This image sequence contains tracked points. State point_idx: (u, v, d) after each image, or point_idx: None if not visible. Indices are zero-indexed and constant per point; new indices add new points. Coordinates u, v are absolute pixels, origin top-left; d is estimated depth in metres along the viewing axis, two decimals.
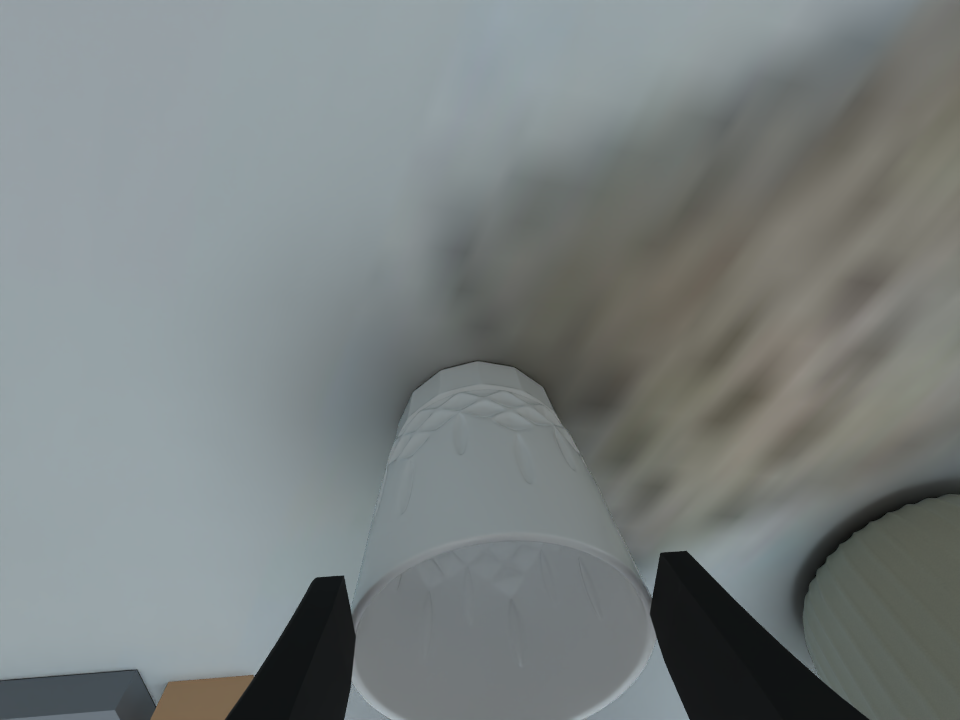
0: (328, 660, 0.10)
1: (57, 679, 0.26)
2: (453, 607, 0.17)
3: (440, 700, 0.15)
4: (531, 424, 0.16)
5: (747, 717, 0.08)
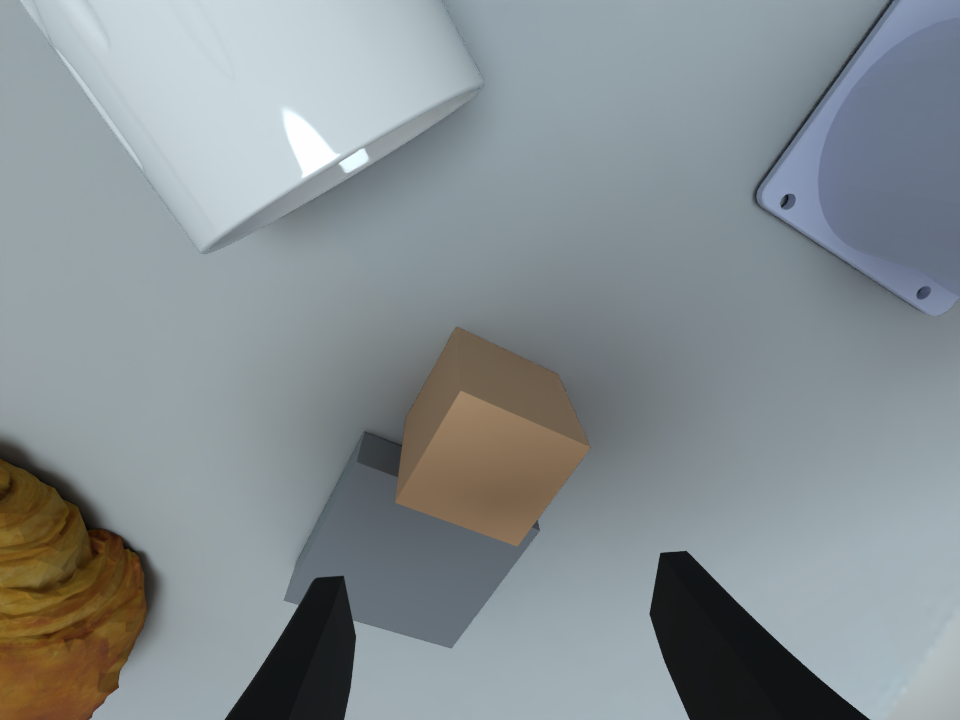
0: (328, 660, 0.10)
1: (327, 502, 0.22)
2: None
3: None
4: None
5: (747, 717, 0.08)
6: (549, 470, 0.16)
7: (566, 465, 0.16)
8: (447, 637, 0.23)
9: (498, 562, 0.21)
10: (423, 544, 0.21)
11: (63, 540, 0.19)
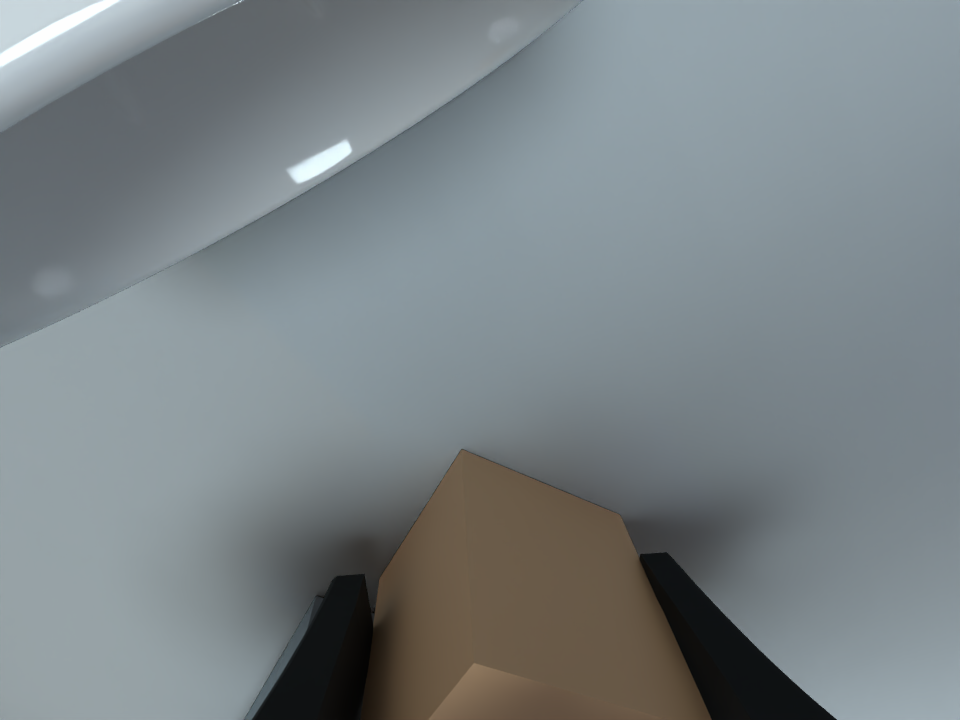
0: (351, 658, 0.10)
1: (262, 689, 0.14)
2: None
3: (395, 62, 0.08)
4: None
5: None
6: None
7: None
8: None
9: None
10: None
11: None
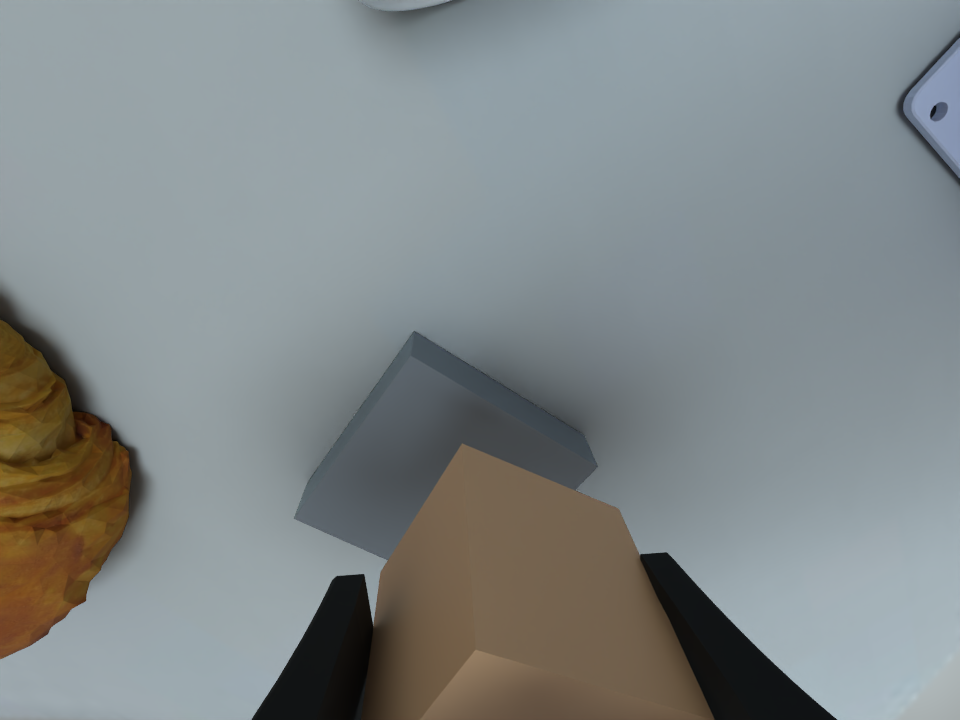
0: (351, 658, 0.10)
1: None
2: None
3: None
4: None
5: None
6: None
7: None
8: None
9: None
10: None
11: (45, 410, 0.16)
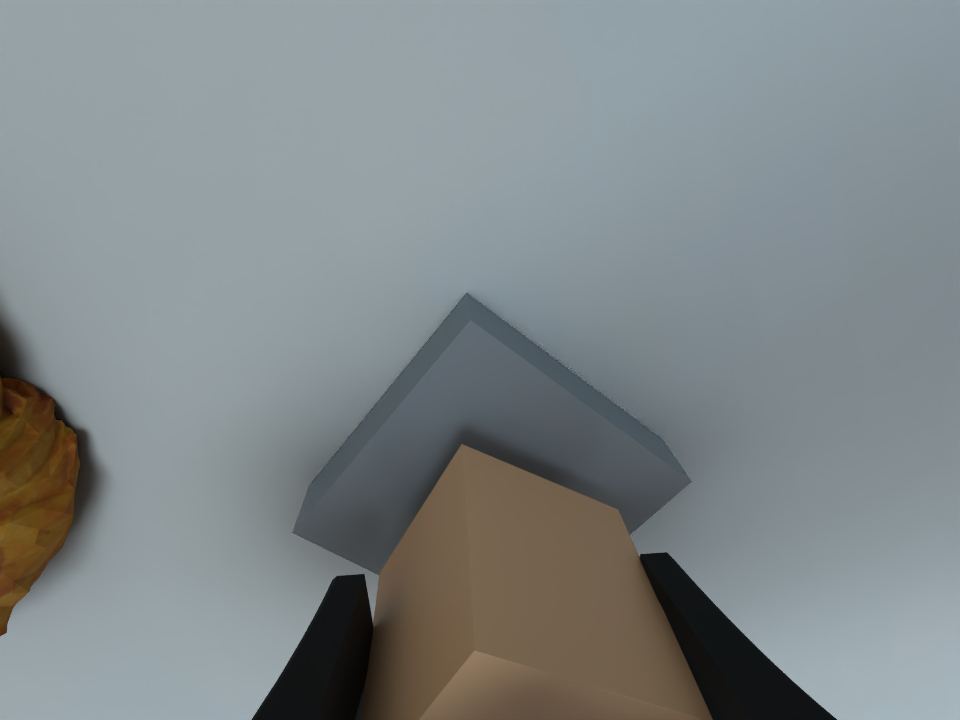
0: (351, 658, 0.10)
1: (382, 397, 0.14)
2: None
3: None
4: None
5: (720, 719, 0.08)
6: None
7: None
8: None
9: None
10: None
11: None
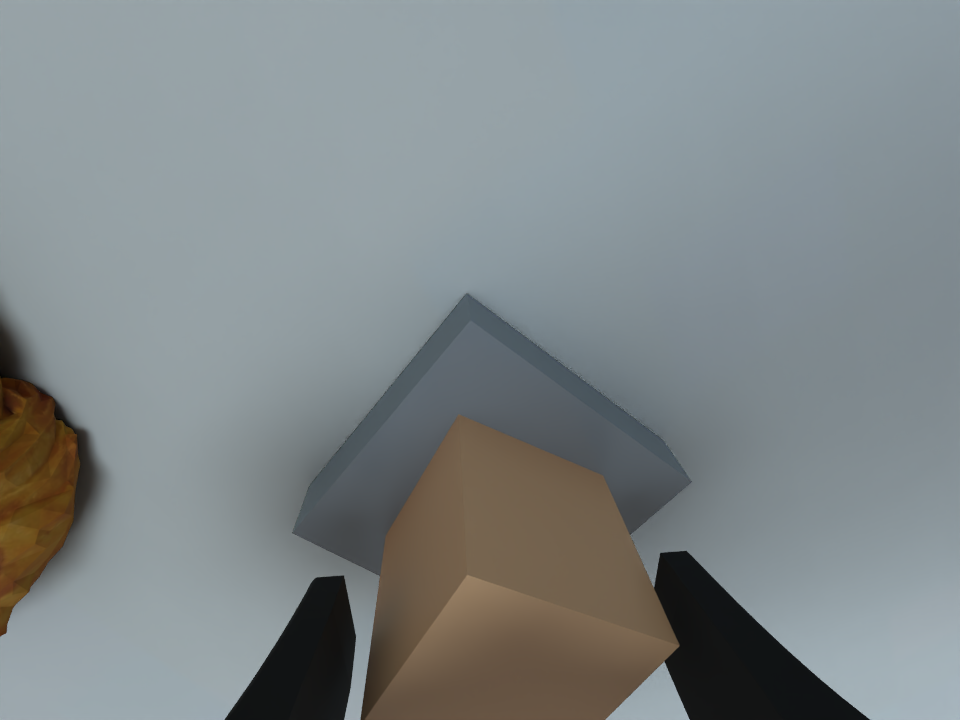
0: (328, 660, 0.10)
1: (382, 397, 0.14)
2: None
3: None
4: None
5: (747, 717, 0.08)
6: (610, 677, 0.10)
7: (638, 670, 0.10)
8: None
9: None
10: None
11: None
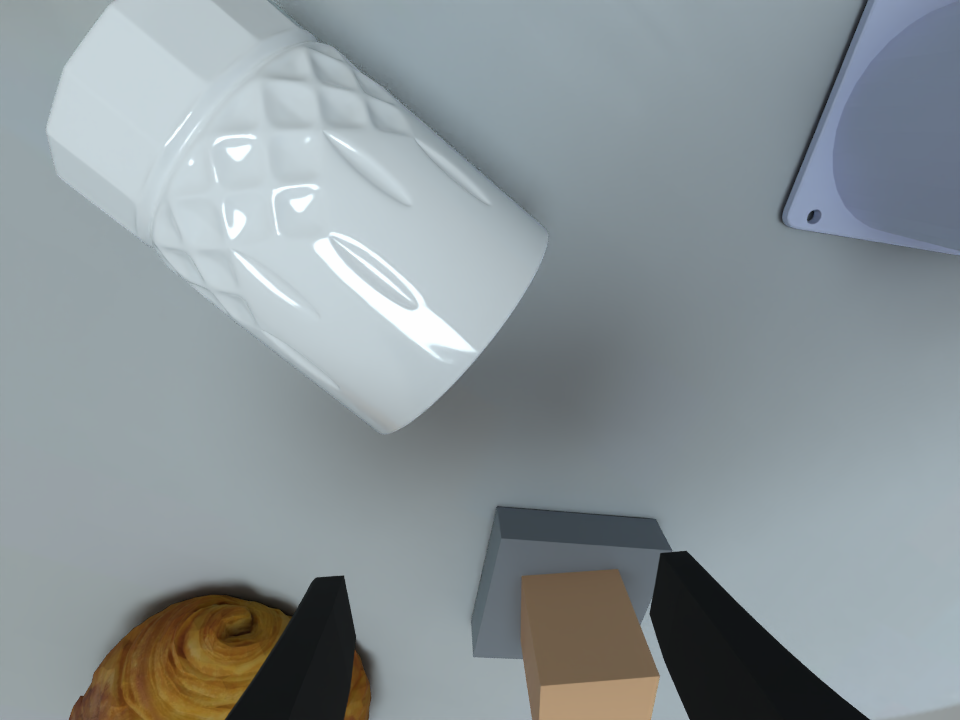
0: (328, 660, 0.10)
1: (483, 569, 0.25)
2: None
3: None
4: (238, 294, 0.12)
5: (747, 717, 0.08)
6: (637, 698, 0.19)
7: (648, 692, 0.19)
8: None
9: (643, 585, 0.24)
10: None
11: None
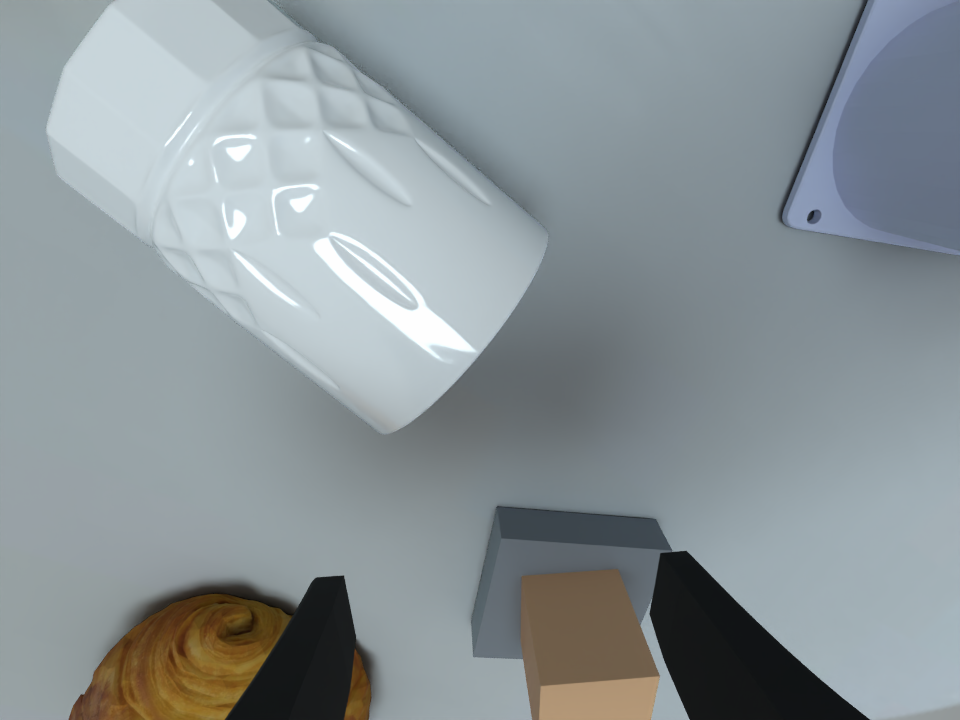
0: (328, 660, 0.10)
1: (483, 569, 0.25)
2: None
3: None
4: (238, 294, 0.12)
5: (747, 717, 0.08)
6: (637, 698, 0.19)
7: (648, 692, 0.19)
8: None
9: (643, 585, 0.24)
10: None
11: None
